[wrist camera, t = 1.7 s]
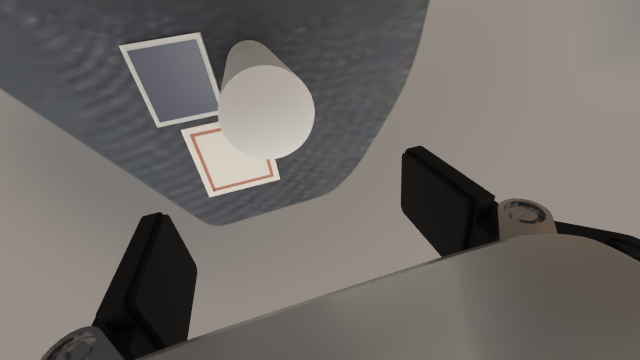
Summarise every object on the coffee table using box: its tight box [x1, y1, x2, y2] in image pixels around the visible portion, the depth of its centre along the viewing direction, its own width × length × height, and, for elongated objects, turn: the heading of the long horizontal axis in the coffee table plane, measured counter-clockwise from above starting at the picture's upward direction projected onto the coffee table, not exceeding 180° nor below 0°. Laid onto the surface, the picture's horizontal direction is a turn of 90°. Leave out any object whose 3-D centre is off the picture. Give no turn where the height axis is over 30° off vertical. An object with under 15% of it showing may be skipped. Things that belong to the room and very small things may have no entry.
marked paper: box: [181, 121, 280, 197], centre depth 48 cm, size 13×13×1 cm
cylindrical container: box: [217, 40, 315, 160], centre depth 31 cm, size 7×7×25 cm
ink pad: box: [119, 32, 220, 128], centre depth 39 cm, size 11×10×2 cm
